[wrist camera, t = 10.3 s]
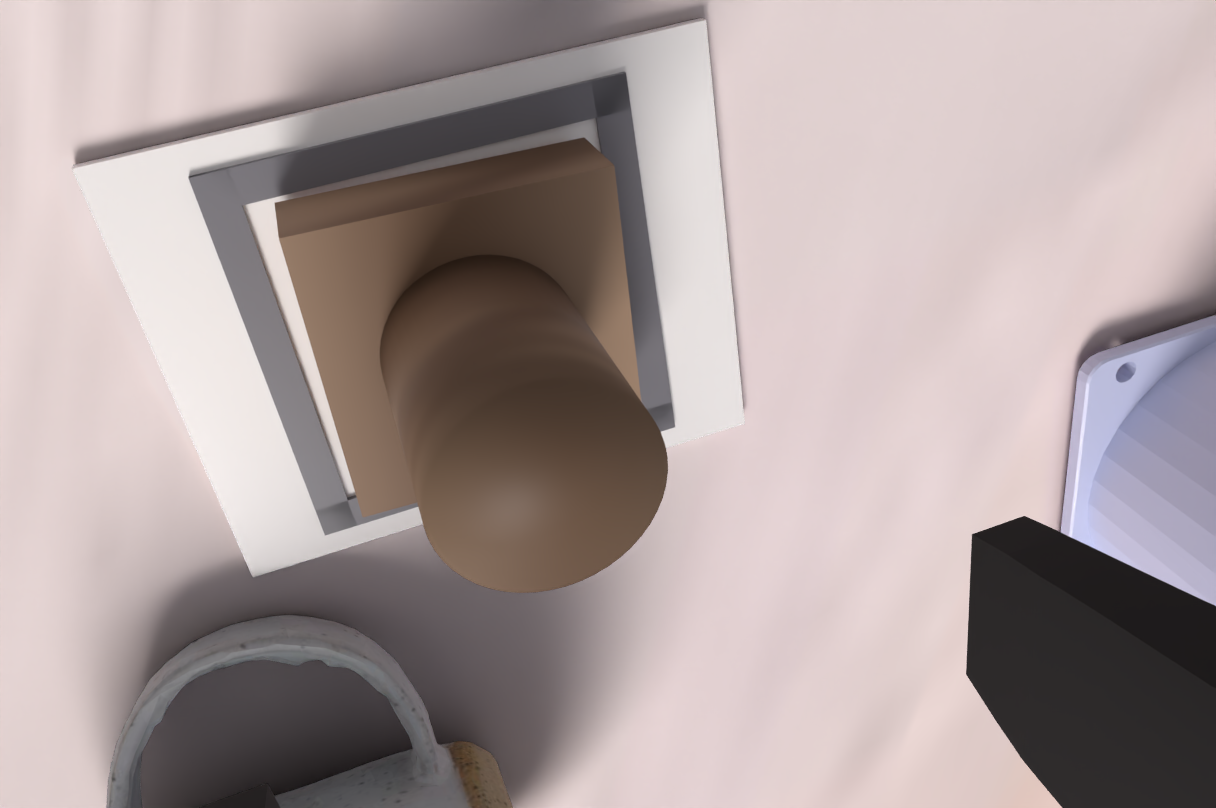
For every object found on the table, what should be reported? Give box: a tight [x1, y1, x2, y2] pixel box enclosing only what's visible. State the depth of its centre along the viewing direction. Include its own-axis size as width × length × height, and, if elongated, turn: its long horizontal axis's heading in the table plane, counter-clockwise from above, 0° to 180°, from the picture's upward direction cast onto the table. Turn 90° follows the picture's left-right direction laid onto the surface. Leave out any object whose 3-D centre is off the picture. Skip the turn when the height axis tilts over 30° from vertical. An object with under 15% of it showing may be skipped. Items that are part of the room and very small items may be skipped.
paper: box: [72, 18, 745, 577], centre depth 18 cm, size 10×8×1 cm
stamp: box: [275, 137, 668, 593], centre depth 16 cm, size 5×5×6 cm
